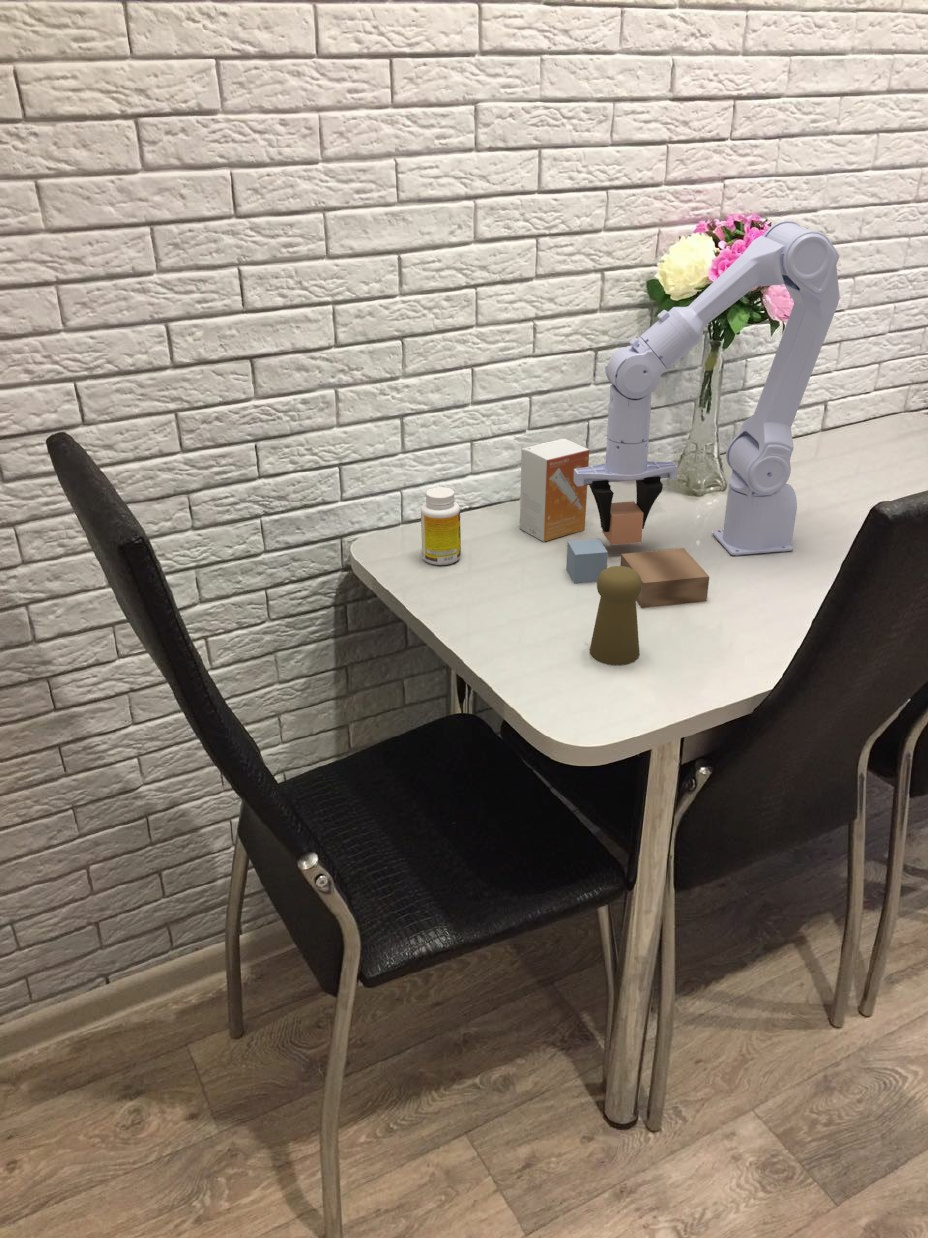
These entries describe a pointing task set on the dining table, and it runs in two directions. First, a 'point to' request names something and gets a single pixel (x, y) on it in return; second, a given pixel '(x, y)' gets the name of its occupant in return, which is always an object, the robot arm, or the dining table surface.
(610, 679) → the dining table surface
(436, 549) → the supplement bottle
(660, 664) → the dining table surface
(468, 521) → the dining table surface
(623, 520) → the terracotta cube
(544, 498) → the small box
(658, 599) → the walnut block
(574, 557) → the slate-blue cube
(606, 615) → the olive game pawn
